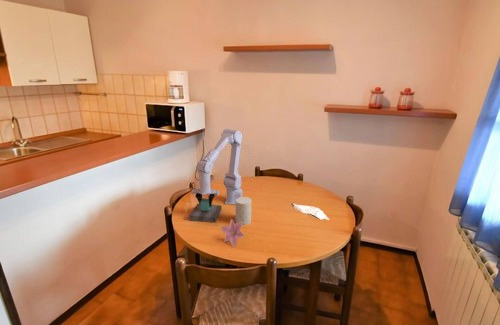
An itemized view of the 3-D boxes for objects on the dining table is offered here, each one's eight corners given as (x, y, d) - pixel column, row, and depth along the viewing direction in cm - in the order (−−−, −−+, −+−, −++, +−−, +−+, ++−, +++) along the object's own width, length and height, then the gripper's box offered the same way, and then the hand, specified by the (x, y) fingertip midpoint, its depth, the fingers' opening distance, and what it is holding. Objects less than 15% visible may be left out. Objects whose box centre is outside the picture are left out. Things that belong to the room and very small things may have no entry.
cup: (239, 226, 140) (239, 205, 137) (233, 219, 147) (233, 198, 143) (253, 222, 144) (254, 201, 140) (246, 216, 151) (246, 195, 147)
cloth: (336, 219, 150) (337, 215, 150) (318, 225, 143) (318, 221, 143) (303, 201, 171) (304, 197, 171) (286, 206, 164) (286, 202, 164)
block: (211, 207, 152) (210, 198, 150) (208, 210, 147) (208, 202, 146) (203, 206, 152) (202, 198, 150) (200, 210, 148) (200, 201, 146)
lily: (220, 236, 133) (214, 225, 127) (240, 223, 136) (236, 212, 130) (231, 255, 125) (226, 245, 119) (253, 241, 128) (249, 230, 122)
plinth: (221, 210, 157) (221, 205, 156) (215, 222, 143) (215, 217, 142) (197, 208, 158) (197, 203, 157) (189, 220, 145) (189, 215, 144)
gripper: (189, 184, 142) (190, 208, 146) (216, 186, 140) (217, 210, 144) (193, 179, 149) (194, 202, 153) (219, 181, 147) (220, 204, 151)
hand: (205, 206), depth 149 cm, fingers closed on block, 4 cm apart
